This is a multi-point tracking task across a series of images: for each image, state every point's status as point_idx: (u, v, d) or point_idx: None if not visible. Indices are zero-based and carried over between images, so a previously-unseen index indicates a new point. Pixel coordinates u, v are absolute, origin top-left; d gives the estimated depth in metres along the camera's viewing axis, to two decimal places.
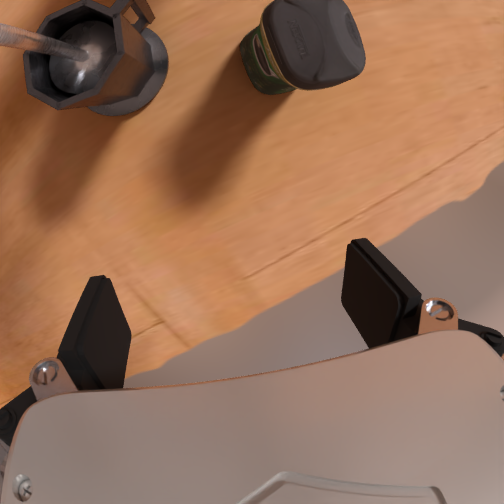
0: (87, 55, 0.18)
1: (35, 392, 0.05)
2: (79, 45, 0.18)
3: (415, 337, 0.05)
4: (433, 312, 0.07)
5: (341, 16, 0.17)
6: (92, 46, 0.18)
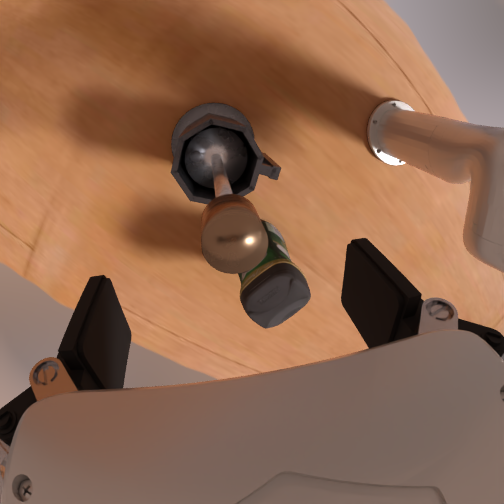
0: None
1: (35, 392, 0.05)
2: (224, 151, 0.33)
3: (415, 337, 0.05)
4: (433, 312, 0.07)
5: (296, 307, 0.40)
6: (225, 163, 0.33)
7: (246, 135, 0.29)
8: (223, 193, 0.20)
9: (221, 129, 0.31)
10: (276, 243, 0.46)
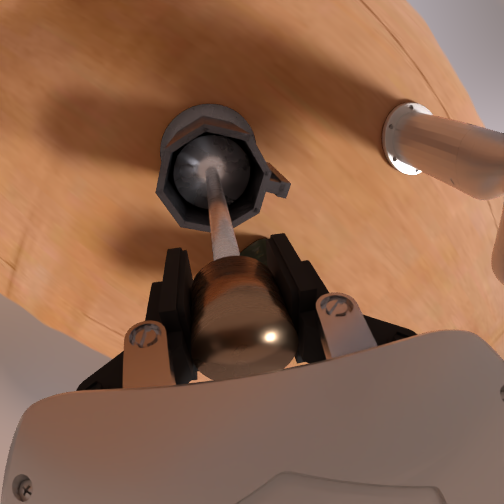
0: None
1: (137, 354, 0.07)
2: (222, 164, 0.27)
3: (415, 337, 0.05)
4: (330, 310, 0.08)
5: None
6: (223, 179, 0.28)
7: (249, 145, 0.23)
8: (222, 239, 0.14)
9: (218, 137, 0.26)
10: None
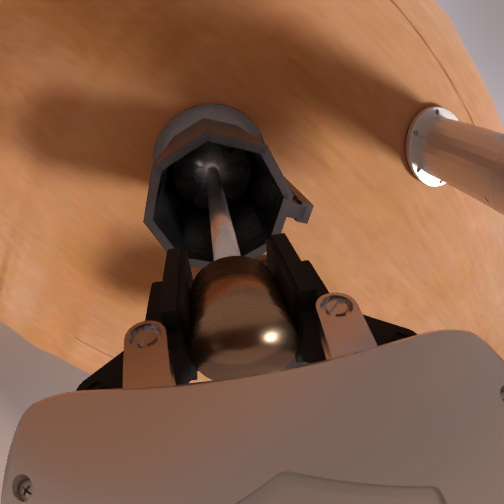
0: None
1: (137, 354, 0.07)
2: (222, 164, 0.27)
3: (415, 337, 0.05)
4: (330, 310, 0.08)
5: None
6: (223, 179, 0.28)
7: (266, 160, 0.18)
8: (222, 239, 0.14)
9: None
10: None
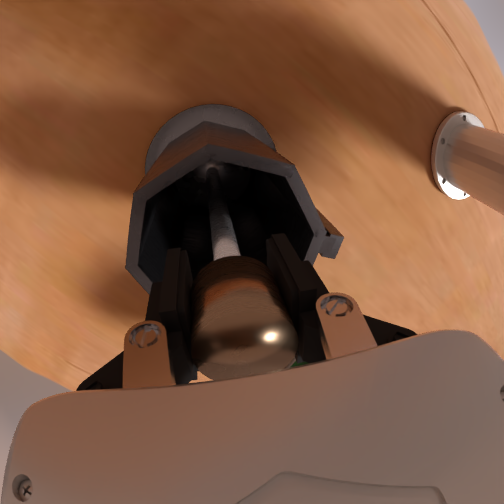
0: None
1: (137, 354, 0.07)
2: (222, 164, 0.27)
3: (415, 337, 0.05)
4: (330, 310, 0.08)
5: None
6: (223, 178, 0.28)
7: (293, 185, 0.13)
8: (222, 239, 0.14)
9: None
10: None
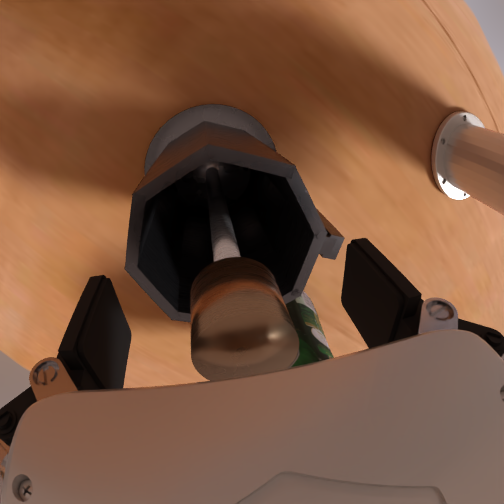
0: None
1: (35, 392, 0.05)
2: (222, 164, 0.27)
3: (415, 337, 0.05)
4: (433, 312, 0.07)
5: None
6: (223, 179, 0.28)
7: (293, 186, 0.13)
8: (222, 240, 0.14)
9: None
10: (310, 327, 0.30)
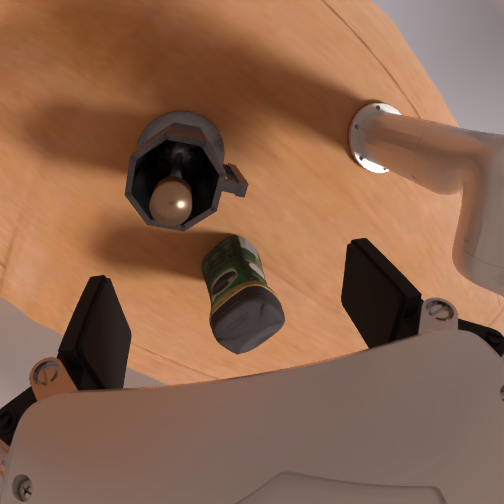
0: None
1: (35, 392, 0.05)
2: (186, 150, 0.40)
3: (415, 337, 0.05)
4: (433, 312, 0.07)
5: (269, 332, 0.37)
6: (186, 159, 0.41)
7: (205, 150, 0.26)
8: None
9: None
10: (248, 262, 0.43)
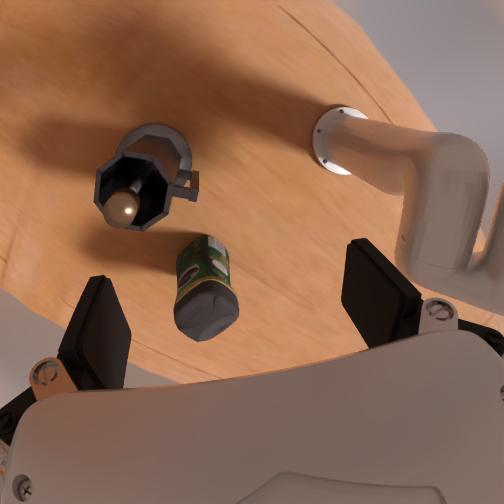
0: (152, 168, 0.45)
1: (35, 392, 0.05)
2: None
3: (415, 337, 0.05)
4: (433, 312, 0.07)
5: (224, 322, 0.41)
6: None
7: (155, 163, 0.30)
8: (130, 187, 0.31)
9: None
10: (212, 259, 0.47)
